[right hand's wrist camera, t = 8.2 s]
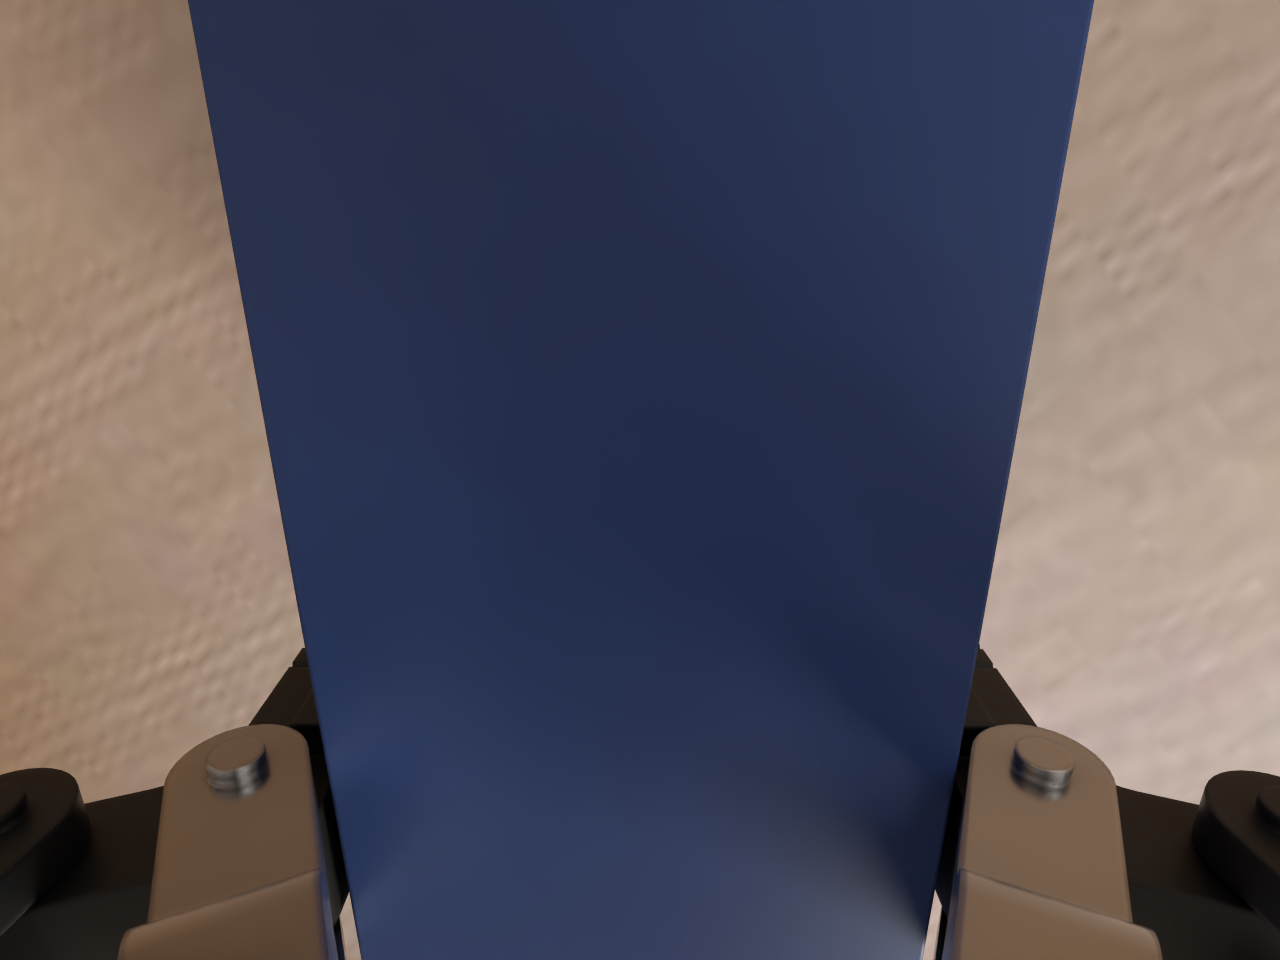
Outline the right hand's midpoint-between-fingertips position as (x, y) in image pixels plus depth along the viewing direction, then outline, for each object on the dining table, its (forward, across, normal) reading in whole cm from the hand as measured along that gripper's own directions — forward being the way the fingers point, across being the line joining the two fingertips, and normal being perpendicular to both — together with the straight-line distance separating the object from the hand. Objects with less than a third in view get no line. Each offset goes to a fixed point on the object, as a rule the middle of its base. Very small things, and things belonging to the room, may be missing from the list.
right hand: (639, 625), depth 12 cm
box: (+7, 0, -8) cm, 10 cm away
